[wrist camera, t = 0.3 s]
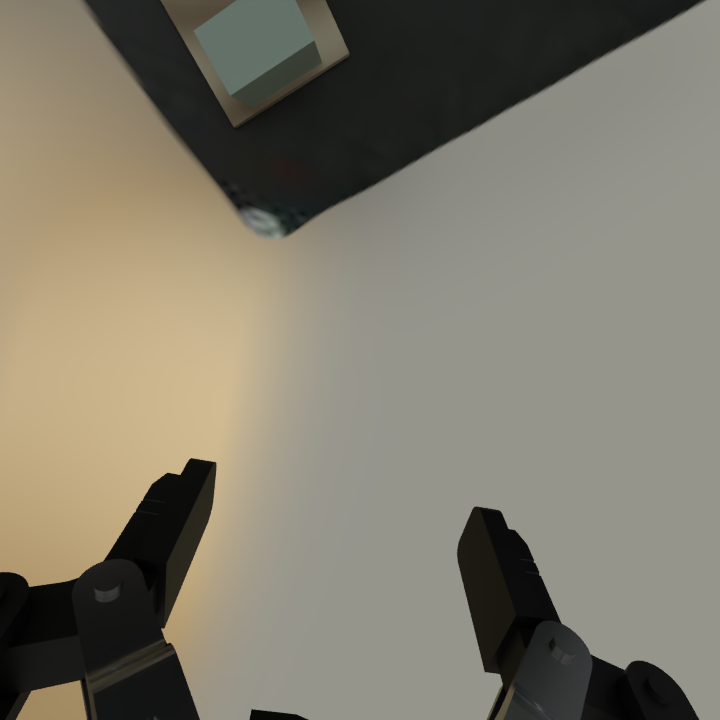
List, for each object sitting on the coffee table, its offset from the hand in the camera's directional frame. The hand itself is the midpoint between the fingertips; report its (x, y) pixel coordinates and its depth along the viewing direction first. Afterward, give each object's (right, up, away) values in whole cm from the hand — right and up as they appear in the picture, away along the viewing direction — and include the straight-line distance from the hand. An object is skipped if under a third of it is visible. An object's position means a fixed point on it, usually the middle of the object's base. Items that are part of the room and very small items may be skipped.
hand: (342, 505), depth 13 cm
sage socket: (-6, +26, +18) cm, 32 cm away
